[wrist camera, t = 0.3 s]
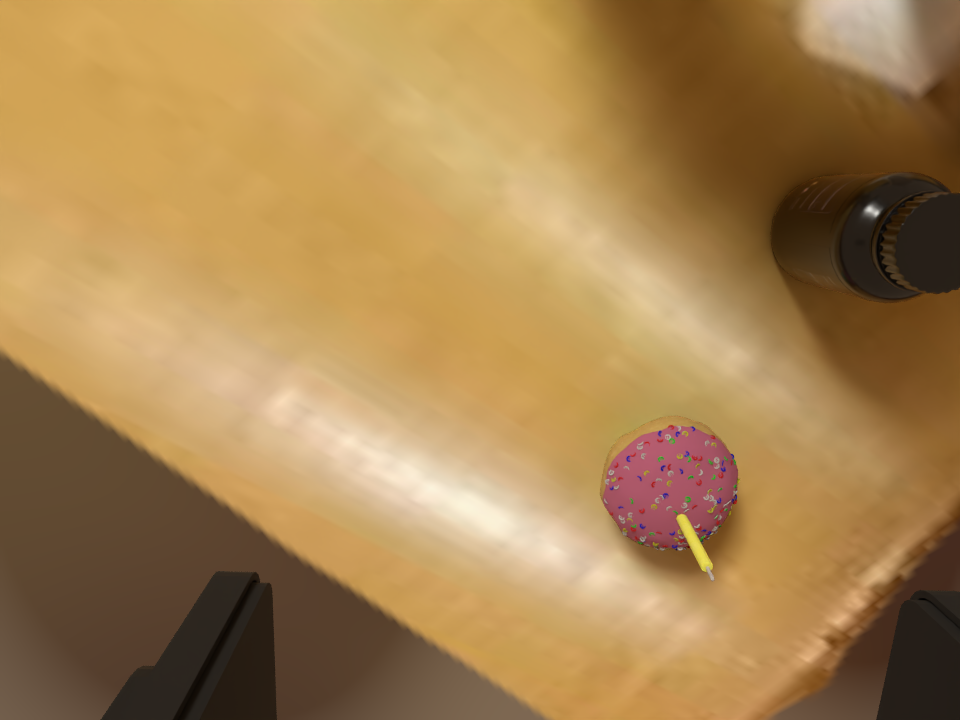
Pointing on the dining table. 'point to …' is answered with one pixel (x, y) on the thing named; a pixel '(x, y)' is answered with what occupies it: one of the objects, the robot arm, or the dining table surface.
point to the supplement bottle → (871, 235)
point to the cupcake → (670, 485)
